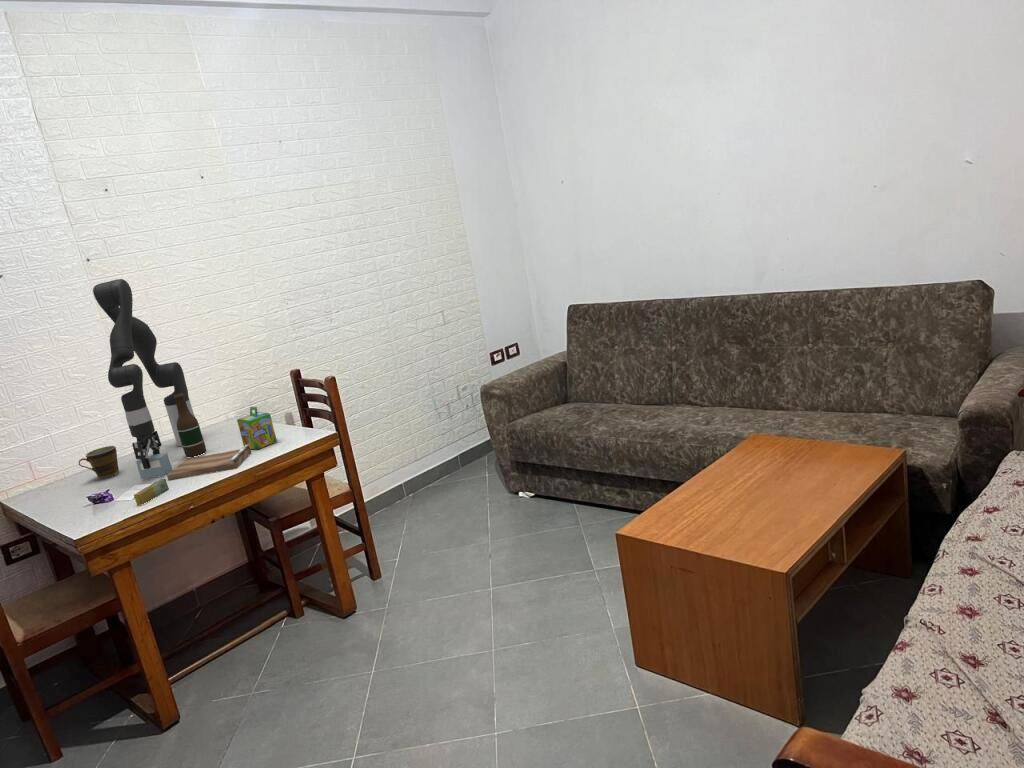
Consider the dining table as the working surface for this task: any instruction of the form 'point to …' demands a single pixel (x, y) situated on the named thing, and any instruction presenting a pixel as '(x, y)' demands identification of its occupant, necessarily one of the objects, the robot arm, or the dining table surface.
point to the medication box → (151, 491)
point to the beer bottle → (188, 429)
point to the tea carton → (155, 466)
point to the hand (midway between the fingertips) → (153, 464)
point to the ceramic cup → (103, 461)
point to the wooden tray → (210, 463)
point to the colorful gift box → (257, 429)
